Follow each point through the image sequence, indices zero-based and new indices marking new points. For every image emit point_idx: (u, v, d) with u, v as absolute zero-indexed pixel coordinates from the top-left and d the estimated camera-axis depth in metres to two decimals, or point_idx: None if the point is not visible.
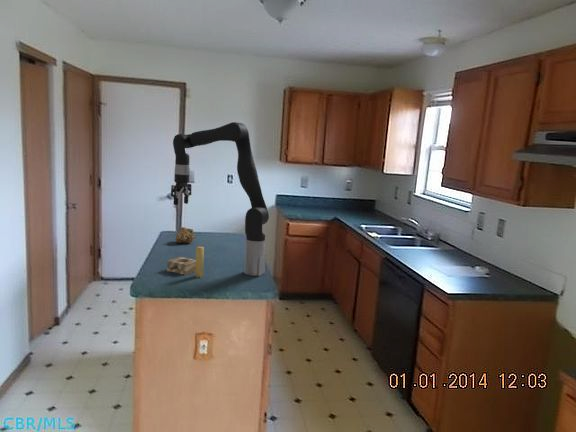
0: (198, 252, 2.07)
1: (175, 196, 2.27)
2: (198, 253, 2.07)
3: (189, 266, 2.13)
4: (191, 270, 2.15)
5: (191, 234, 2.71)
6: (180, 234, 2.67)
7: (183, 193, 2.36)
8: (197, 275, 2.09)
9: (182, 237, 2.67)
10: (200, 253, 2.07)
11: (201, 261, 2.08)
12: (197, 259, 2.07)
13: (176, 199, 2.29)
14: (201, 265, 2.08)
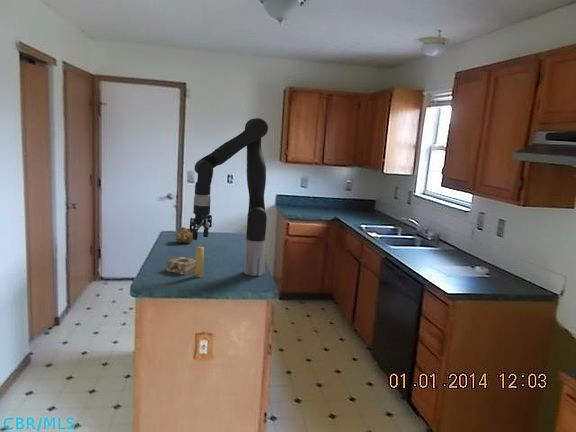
0: (198, 252, 2.07)
1: (194, 230, 2.00)
2: (198, 253, 2.07)
3: (189, 266, 2.13)
4: (191, 270, 2.15)
5: (191, 234, 2.71)
6: (180, 234, 2.67)
7: (203, 225, 2.10)
8: (197, 275, 2.09)
9: (182, 237, 2.67)
10: (200, 253, 2.07)
11: (201, 261, 2.08)
12: (197, 259, 2.07)
13: (195, 233, 2.02)
14: (201, 265, 2.08)
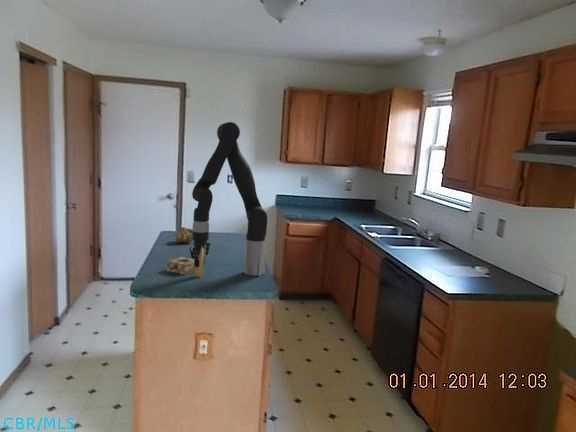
0: (198, 252, 2.07)
1: (196, 258, 2.04)
2: None
3: (189, 266, 2.13)
4: (191, 270, 2.15)
5: (191, 234, 2.71)
6: (180, 234, 2.67)
7: None
8: (197, 275, 2.09)
9: (182, 237, 2.67)
10: None
11: (201, 261, 2.08)
12: None
13: (197, 261, 2.06)
14: (201, 265, 2.08)
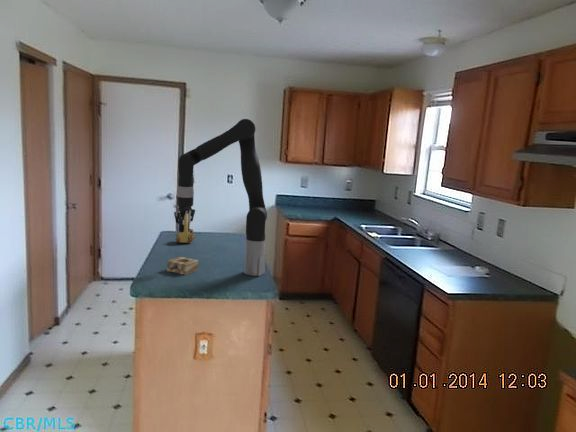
0: (183, 217, 2.12)
1: (181, 223, 2.09)
2: None
3: (189, 266, 2.13)
4: (191, 270, 2.15)
5: (191, 234, 2.71)
6: None
7: None
8: (182, 240, 2.13)
9: None
10: None
11: (186, 226, 2.13)
12: None
13: (182, 226, 2.11)
14: (186, 230, 2.13)
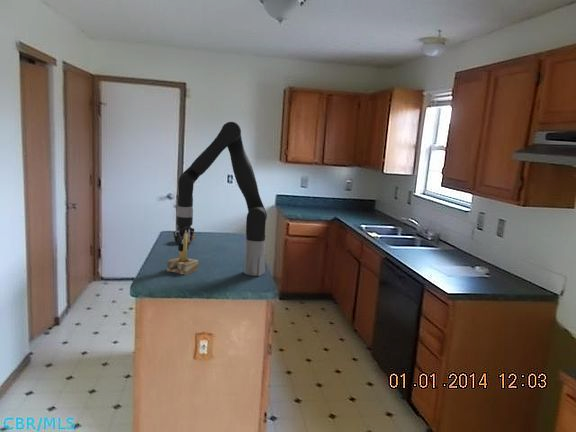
0: None
1: (180, 242, 2.11)
2: None
3: (189, 266, 2.13)
4: (191, 270, 2.15)
5: None
6: None
7: None
8: (181, 259, 2.15)
9: None
10: None
11: (185, 245, 2.14)
12: None
13: (181, 245, 2.13)
14: (185, 249, 2.15)
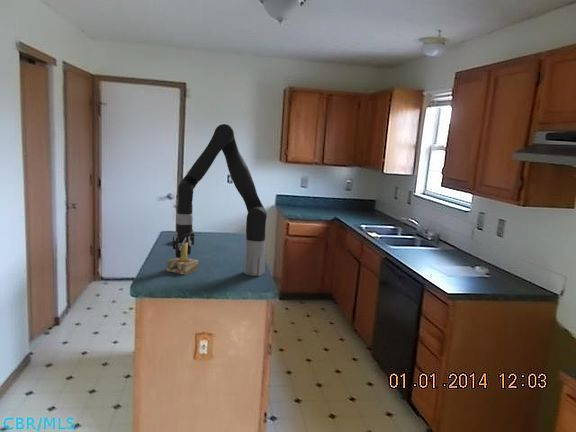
0: (182, 247, 2.14)
1: (177, 249, 2.09)
2: (182, 248, 2.14)
3: (189, 266, 2.13)
4: (191, 270, 2.15)
5: None
6: None
7: None
8: None
9: None
10: (184, 248, 2.14)
11: (185, 256, 2.15)
12: (181, 254, 2.15)
13: (178, 251, 2.11)
14: (185, 259, 2.16)
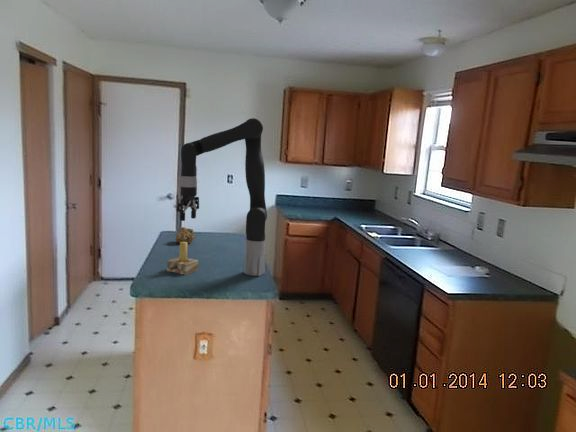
0: (182, 247, 2.14)
1: (182, 211, 2.06)
2: (182, 248, 2.14)
3: (189, 266, 2.13)
4: (191, 270, 2.15)
5: (191, 234, 2.71)
6: (180, 234, 2.67)
7: (190, 207, 2.16)
8: None
9: (182, 237, 2.67)
10: (183, 248, 2.14)
11: (185, 256, 2.15)
12: (181, 254, 2.15)
13: (183, 214, 2.08)
14: (185, 259, 2.15)
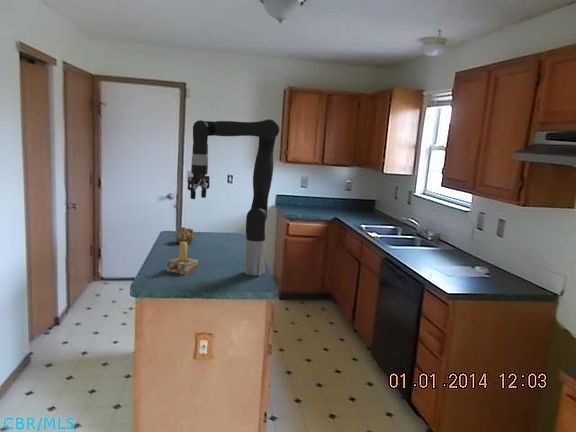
0: (181, 247, 2.14)
1: (192, 189, 2.04)
2: (182, 248, 2.14)
3: (189, 266, 2.13)
4: (191, 270, 2.15)
5: (191, 234, 2.71)
6: (180, 234, 2.67)
7: None
8: None
9: (182, 237, 2.67)
10: (183, 248, 2.14)
11: (184, 256, 2.15)
12: (180, 254, 2.15)
13: (193, 192, 2.06)
14: (184, 259, 2.15)
